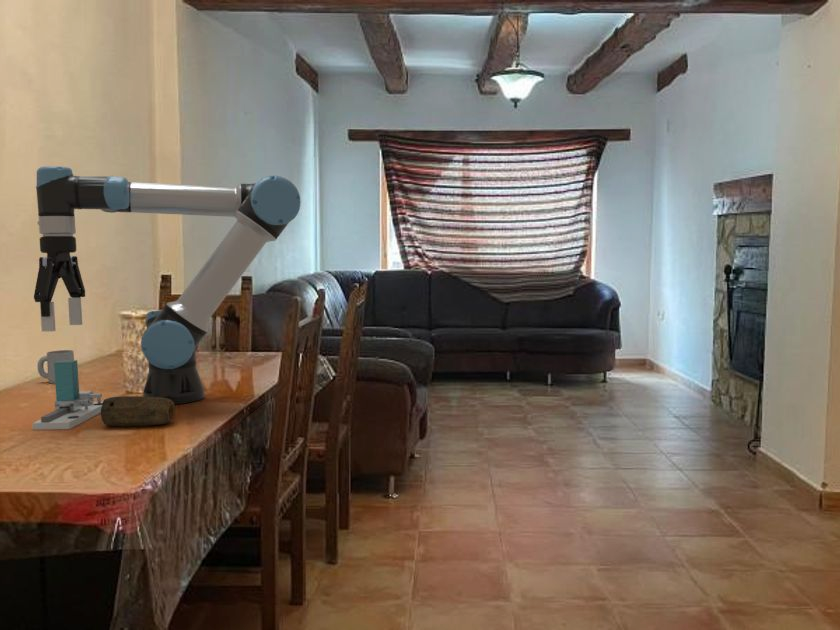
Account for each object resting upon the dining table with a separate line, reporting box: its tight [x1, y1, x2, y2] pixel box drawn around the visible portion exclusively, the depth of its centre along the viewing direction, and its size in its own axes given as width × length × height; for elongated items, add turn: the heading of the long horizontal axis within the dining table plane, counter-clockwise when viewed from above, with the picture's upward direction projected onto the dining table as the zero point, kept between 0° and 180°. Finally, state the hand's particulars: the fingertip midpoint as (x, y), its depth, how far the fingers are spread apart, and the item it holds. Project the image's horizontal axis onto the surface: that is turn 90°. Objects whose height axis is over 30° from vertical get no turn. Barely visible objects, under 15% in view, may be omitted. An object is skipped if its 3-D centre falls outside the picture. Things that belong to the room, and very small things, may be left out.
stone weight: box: [100, 395, 176, 428], centre depth 171 cm, size 15×7×7 cm, turn 97°
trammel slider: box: [54, 359, 89, 411], centre depth 179 cm, size 7×4×11 cm, turn 90°
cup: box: [37, 349, 75, 385], centre depth 228 cm, size 7×10×9 cm
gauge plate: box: [31, 390, 103, 431], centre depth 179 cm, size 8×22×4 cm, turn 0°
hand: (62, 328), depth 178 cm, fingers open, 13 cm apart
